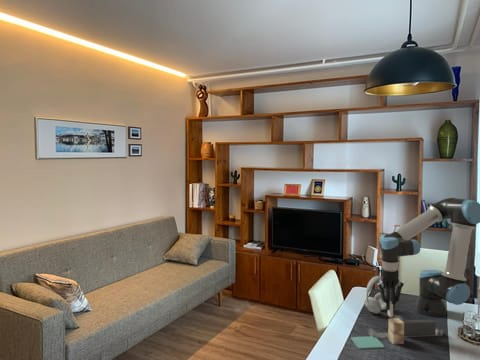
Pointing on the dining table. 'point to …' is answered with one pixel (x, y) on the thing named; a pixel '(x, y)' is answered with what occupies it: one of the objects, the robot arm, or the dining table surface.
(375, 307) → the headphones
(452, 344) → the dining table surface
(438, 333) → the rail
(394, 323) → the beech block
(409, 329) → the grey l-shaped block
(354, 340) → the pad
